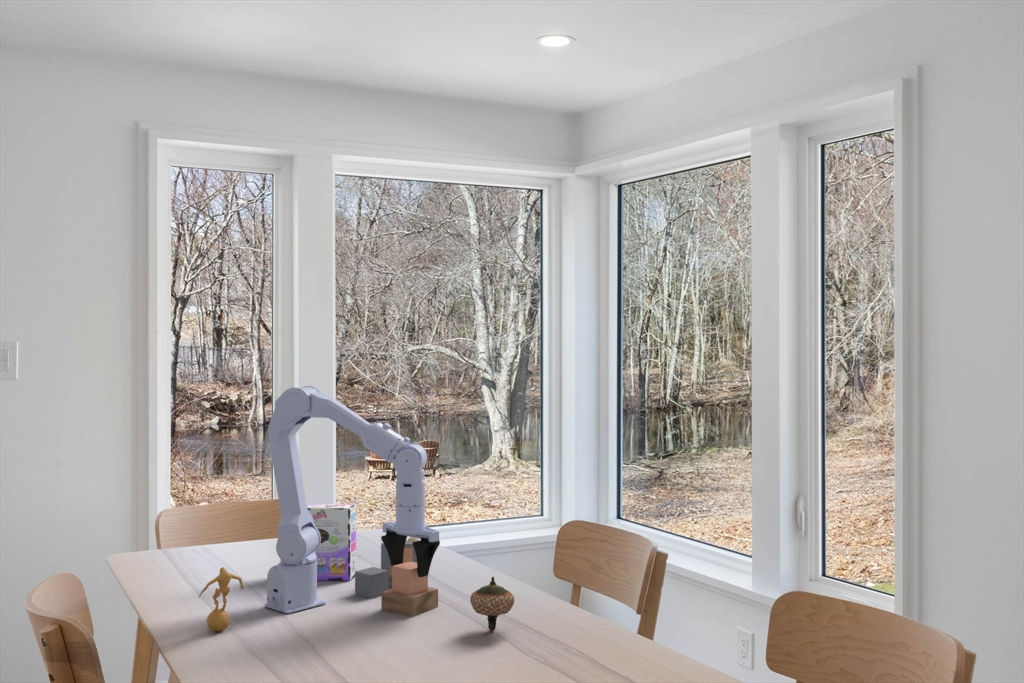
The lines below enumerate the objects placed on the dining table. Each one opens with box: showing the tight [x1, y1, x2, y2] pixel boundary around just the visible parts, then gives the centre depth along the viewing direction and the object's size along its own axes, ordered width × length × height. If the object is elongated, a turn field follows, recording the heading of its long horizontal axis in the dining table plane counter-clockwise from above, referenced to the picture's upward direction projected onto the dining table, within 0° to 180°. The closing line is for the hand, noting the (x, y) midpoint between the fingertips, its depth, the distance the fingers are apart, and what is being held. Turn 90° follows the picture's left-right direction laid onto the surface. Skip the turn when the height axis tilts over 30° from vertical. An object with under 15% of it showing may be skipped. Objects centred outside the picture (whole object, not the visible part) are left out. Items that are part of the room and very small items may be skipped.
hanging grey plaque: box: [380, 542, 417, 589], centre depth 197 cm, size 6×10×9 cm, turn 97°
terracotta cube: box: [391, 562, 429, 595], centre depth 178 cm, size 5×5×5 cm
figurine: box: [198, 567, 244, 633], centre depth 163 cm, size 8×6×12 cm
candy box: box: [306, 503, 357, 581], centre depth 203 cm, size 14×6×16 cm, turn 84°
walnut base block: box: [380, 586, 439, 618], centre depth 178 cm, size 8×8×4 cm
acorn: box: [469, 576, 515, 632], centre depth 164 cm, size 8×8×10 cm
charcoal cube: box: [354, 566, 390, 600], centre depth 189 cm, size 5×5×5 cm
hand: (410, 572), depth 178 cm, fingers open, 7 cm apart
